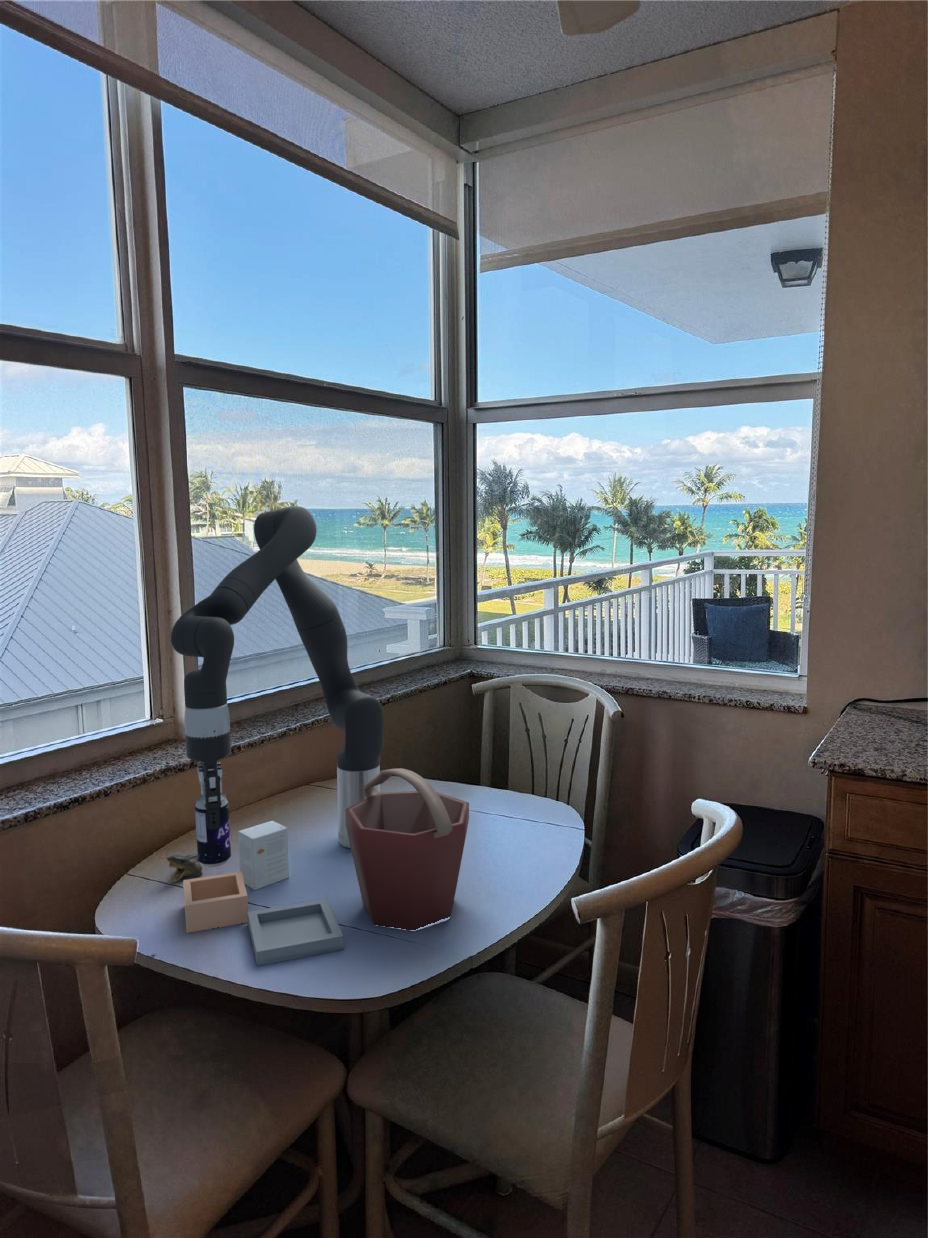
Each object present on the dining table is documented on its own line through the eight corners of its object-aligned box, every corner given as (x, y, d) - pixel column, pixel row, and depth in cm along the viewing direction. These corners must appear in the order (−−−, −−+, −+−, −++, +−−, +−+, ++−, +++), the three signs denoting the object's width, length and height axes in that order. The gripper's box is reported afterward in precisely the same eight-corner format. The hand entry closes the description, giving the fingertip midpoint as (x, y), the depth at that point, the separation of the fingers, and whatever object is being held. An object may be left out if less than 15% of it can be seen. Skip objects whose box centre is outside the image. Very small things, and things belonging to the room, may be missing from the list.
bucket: (338, 888, 158) (335, 762, 155) (446, 870, 166) (446, 750, 163) (370, 952, 135) (368, 806, 132) (494, 927, 143) (494, 789, 140)
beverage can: (221, 870, 143) (218, 804, 142) (192, 867, 145) (188, 802, 143) (236, 856, 149) (233, 793, 147) (208, 854, 150) (204, 791, 148)
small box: (274, 869, 166) (273, 819, 165) (290, 878, 163) (288, 827, 161) (239, 882, 161) (237, 830, 160) (253, 891, 157) (251, 838, 156)
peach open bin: (242, 896, 155) (241, 871, 154) (248, 922, 145) (247, 895, 144) (184, 906, 151) (183, 880, 150) (186, 933, 141) (185, 905, 141)
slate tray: (327, 911, 149) (326, 898, 149) (343, 949, 136) (343, 936, 136) (247, 924, 144) (247, 912, 144) (257, 966, 131) (256, 952, 131)
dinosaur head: (178, 894, 158) (179, 863, 156) (153, 882, 161) (154, 852, 159) (208, 874, 165) (208, 844, 163) (183, 863, 168) (184, 834, 166)
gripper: (233, 738, 138) (238, 833, 140) (226, 717, 151) (230, 805, 154) (186, 743, 135) (192, 840, 138) (183, 721, 149) (188, 811, 151)
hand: (212, 821), depth 146 cm, fingers closed on beverage can, 5 cm apart
